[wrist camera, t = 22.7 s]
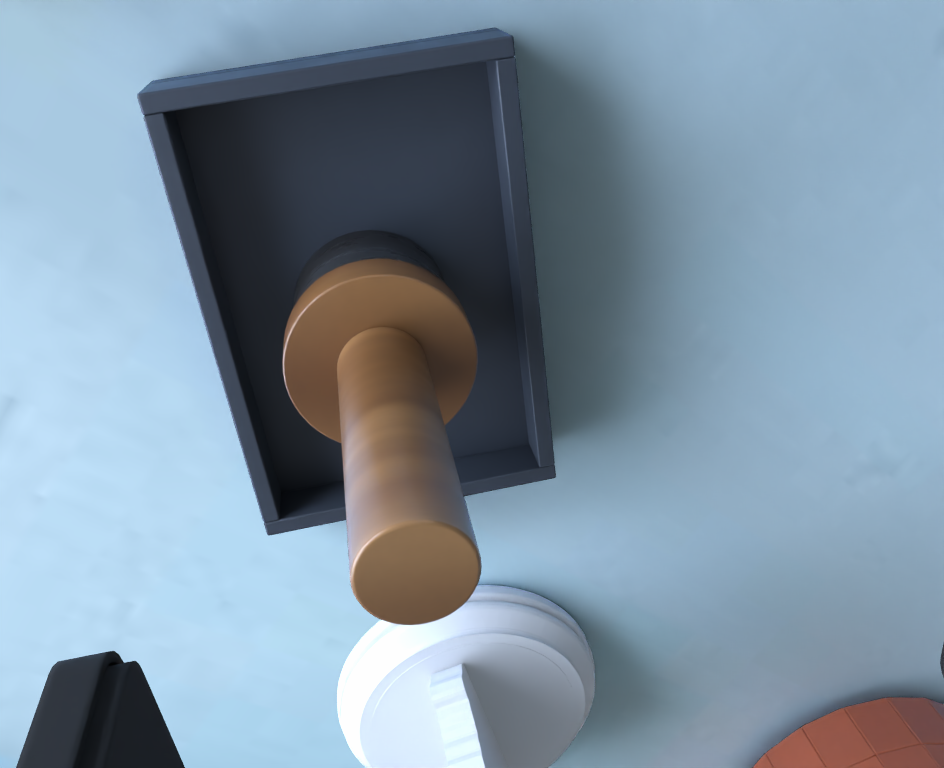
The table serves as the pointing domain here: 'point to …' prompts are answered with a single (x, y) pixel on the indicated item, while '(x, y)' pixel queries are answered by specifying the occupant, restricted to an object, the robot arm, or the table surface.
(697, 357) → the table surface
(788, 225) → the table surface
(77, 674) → the robot arm
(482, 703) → the chess piece
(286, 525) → the tray
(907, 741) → the bowl
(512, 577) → the table surface
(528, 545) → the table surface
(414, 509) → the dish brush
